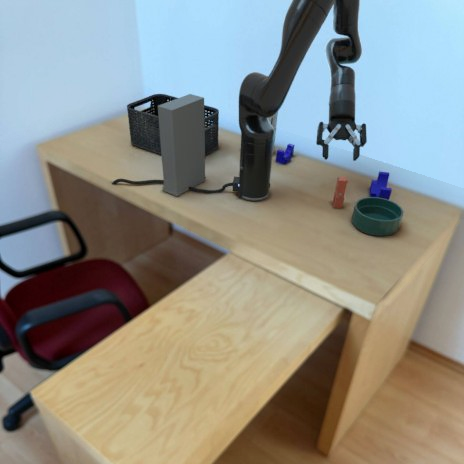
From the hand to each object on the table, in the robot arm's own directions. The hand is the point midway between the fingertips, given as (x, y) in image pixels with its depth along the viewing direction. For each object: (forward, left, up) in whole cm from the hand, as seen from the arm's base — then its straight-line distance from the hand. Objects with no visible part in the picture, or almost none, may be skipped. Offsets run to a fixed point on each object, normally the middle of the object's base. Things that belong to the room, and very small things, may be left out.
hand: (340, 159), depth 129 cm
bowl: (+9, -17, -11) cm, 22 cm away
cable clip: (+13, -2, -11) cm, 18 cm away
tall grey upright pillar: (-47, +2, -11) cm, 48 cm away
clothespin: (0, -7, -11) cm, 13 cm away
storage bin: (-53, +32, -11) cm, 63 cm away
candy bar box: (-23, +30, -11) cm, 40 cm away
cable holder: (-13, +24, -11) cm, 30 cm away
